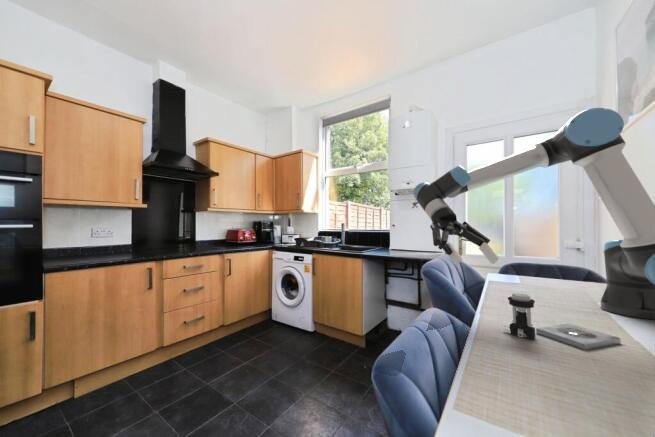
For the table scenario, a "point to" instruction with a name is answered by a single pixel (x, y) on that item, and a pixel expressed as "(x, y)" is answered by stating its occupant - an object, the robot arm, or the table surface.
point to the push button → (521, 316)
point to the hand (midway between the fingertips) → (477, 261)
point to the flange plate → (578, 336)
